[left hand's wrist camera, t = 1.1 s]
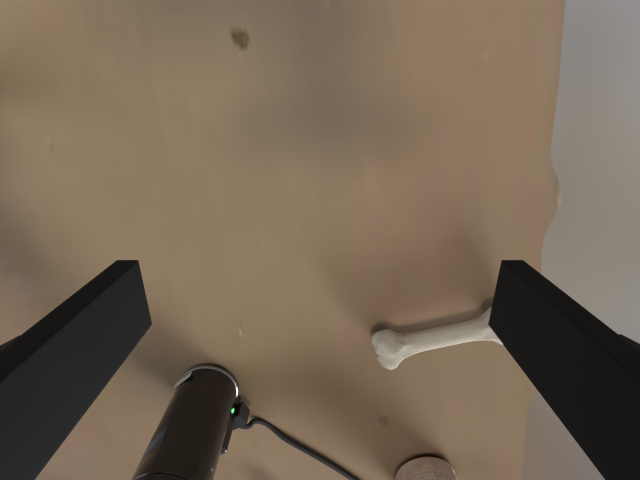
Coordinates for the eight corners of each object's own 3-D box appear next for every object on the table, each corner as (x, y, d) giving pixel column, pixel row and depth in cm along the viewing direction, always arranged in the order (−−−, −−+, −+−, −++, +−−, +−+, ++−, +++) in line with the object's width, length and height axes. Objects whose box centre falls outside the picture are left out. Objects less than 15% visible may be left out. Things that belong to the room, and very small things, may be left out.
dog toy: (376, 356, 54) (381, 380, 49) (367, 325, 52) (372, 347, 47) (507, 328, 52) (526, 350, 47) (505, 294, 50) (524, 314, 45)
